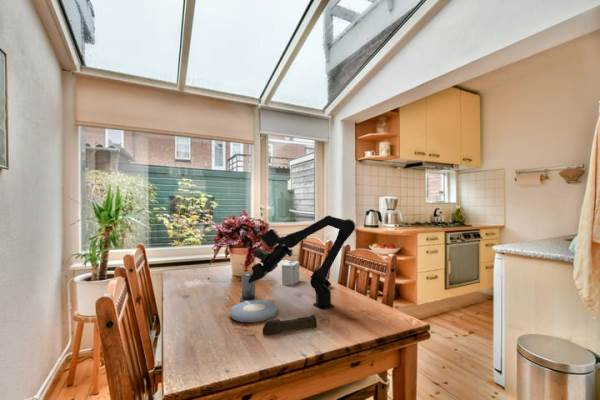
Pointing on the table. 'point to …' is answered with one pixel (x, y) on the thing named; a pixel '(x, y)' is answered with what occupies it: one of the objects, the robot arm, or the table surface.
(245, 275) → the dark grey cylinder
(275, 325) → the hand tool
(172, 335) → the table surface
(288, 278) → the light bulb box
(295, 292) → the table surface
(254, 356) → the table surface
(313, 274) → the robot arm
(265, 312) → the turntable
